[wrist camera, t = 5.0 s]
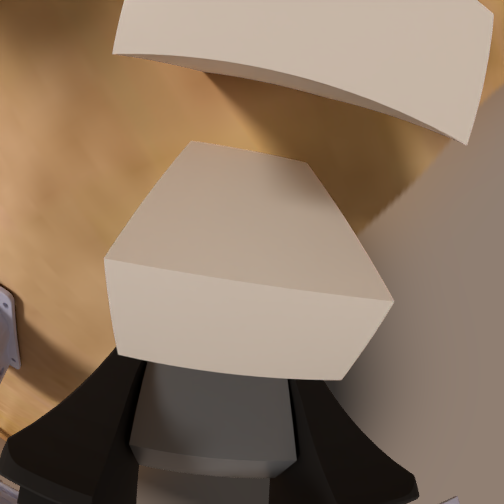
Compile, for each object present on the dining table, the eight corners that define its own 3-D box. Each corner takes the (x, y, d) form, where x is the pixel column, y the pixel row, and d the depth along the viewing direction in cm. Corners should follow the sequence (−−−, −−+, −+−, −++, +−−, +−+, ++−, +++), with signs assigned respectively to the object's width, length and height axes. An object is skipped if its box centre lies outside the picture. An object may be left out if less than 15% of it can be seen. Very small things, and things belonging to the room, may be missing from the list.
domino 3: (263, 319, 13) (274, 478, 7) (171, 306, 12) (139, 464, 6) (275, 285, 12) (296, 460, 6) (173, 269, 11) (129, 444, 5)
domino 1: (324, 97, 9) (467, 145, 3) (203, 72, 8) (112, 54, 2) (338, 44, 8) (494, 14, 2) (216, 16, 7) (161, -96, 1)
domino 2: (292, 213, 11) (341, 380, 5) (183, 194, 10) (118, 354, 4) (307, 162, 10) (394, 301, 4) (191, 140, 9) (103, 258, 3)
